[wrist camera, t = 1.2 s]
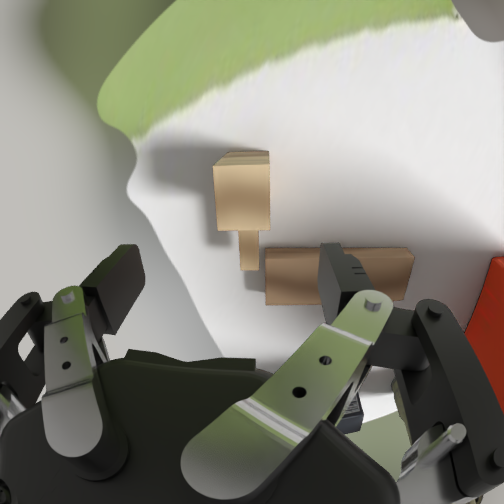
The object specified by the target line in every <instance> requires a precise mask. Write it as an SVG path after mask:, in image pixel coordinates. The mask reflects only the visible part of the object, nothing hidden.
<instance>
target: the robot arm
mask: <svg viewBox="0 0 504 504" xmlns="http://www.w3.org/2000/svg"><path fill="white" fill-rule="evenodd" d="M317 282H318V291H319V295H320V299H321V303H322V307H323V311H324V316H325V320H326V323H322V324H321V325H320V326H319V327H318V328H317V329H316V330H315V331H314V332H313V333H312V334H311V336H310V337H309V338H308V339H307V340H306V341H305V342H304V343H303V344H302V345H301V346H300V348H299V349H298V350H297V351H296V352H295V353H294V354H293V355H292V356H291V357H290V358H289V359H288V360H287V361H286V362H285V363H284V364H283V365H282V366H281V367H280V368H279V369H278V370H277V371H276V372H275V374H272V373H270V372H267V371H264V370H260V369H256V359H251V358H215V359H208V360H200V361H192V362H183V361H180V360H177V359H174V358H171V357H168V356H165V355H162V354H159V353H156V352H148V351H139V350H132V349H128V351H127V353H126V356H125V357H124V358H119V359H115V360H110V358H109V355H108V352H107V348H106V345H105V341H104V339H103V337H102V336H103V334H111V335H116V333H117V331H118V329H119V328H120V326H121V324H122V323H123V321H124V319H125V317H126V316H127V314H128V312H129V311H130V309H131V307H132V306H133V304H134V302H135V301H136V299H137V297H138V296H139V294H140V293H141V291H142V290H143V288H144V285H145V273H144V269H143V265H142V261H141V256H140V253H139V248H138V246H137V245H135V244H123V245H120V246H118V248H117V249H116V250H115V251H114V252H113V253H112V254H111V255H110V256H109V257H107V258H105V259H104V260H102V262H101V263H100V264H99V265H98V266H97V268H95V269H94V270H93V272H92V273H91V274H89V276H88V277H87V278H86V279H85V280H84V281H83V282H82V283H81V284H80V285H79V286H70V287H66V288H64V289H62V290H60V291H59V292H58V293H56V295H55V296H54V298H53V301H49V302H42V300H41V297H40V295H39V293H37V292H30V293H27V294H25V295H23V296H22V297H20V298H19V299H18V300H17V301H16V302H15V303H14V305H13V306H12V307H11V308H10V309H9V310H8V311H7V313H6V314H5V315H4V316H3V317H2V319H1V320H0V504H466V503H468V502H470V501H472V500H474V499H476V498H478V497H479V496H481V495H483V494H485V493H487V492H488V491H490V490H492V489H494V488H495V487H497V486H499V485H500V484H502V483H503V482H504V414H503V411H502V409H501V407H500V404H499V402H498V399H497V397H496V395H495V393H494V390H493V388H492V386H491V384H490V382H489V380H488V377H487V375H486V373H485V371H484V369H483V367H482V365H481V363H480V361H479V359H478V358H477V356H476V354H475V352H474V350H473V348H472V346H471V345H470V343H469V341H468V339H467V338H466V336H465V334H464V332H463V331H462V329H461V327H460V326H459V324H458V322H457V321H456V319H455V317H454V316H453V314H452V312H451V311H450V309H449V308H448V307H447V306H446V305H444V304H443V303H441V302H439V301H436V300H431V299H425V300H422V301H420V302H418V304H417V305H416V308H415V311H412V310H406V309H400V308H396V307H393V302H392V300H391V299H390V298H389V297H388V296H387V295H385V294H384V293H382V292H379V291H376V290H375V288H374V286H373V284H372V283H371V281H370V279H369V277H368V275H367V274H366V271H365V270H364V268H363V266H362V264H361V262H360V261H359V260H358V259H357V258H356V257H354V256H353V255H352V254H345V253H344V251H343V249H342V247H341V245H340V243H321V246H320V256H319V267H318V278H317ZM27 332H28V334H29V335H30V338H31V339H32V341H33V343H34V344H35V346H34V347H33V349H32V350H31V352H30V353H29V355H28V356H27V358H26V360H25V361H23V360H22V358H21V357H20V355H19V353H18V345H19V343H20V341H21V340H22V338H23V337H24V336H25V334H26V333H27ZM372 366H378V367H385V368H392V369H394V373H395V376H396V379H397V383H398V387H399V390H400V394H401V398H402V402H403V406H404V410H405V414H406V418H407V422H408V426H409V431H410V435H411V440H412V446H411V447H410V448H409V449H408V450H407V451H406V452H405V454H404V456H403V458H402V462H401V474H400V477H399V479H398V480H397V482H395V480H394V479H393V478H392V476H391V475H390V474H389V472H387V471H386V470H385V469H384V468H383V467H382V466H380V465H379V464H378V463H377V462H375V461H374V460H373V459H372V458H371V457H370V456H368V455H367V454H366V453H365V452H364V451H362V450H361V449H360V448H359V447H358V446H356V444H354V443H353V442H352V441H351V440H350V439H349V438H348V437H346V436H345V435H344V434H343V433H342V432H341V431H340V430H339V429H337V428H336V426H337V425H338V423H339V422H340V420H341V419H342V417H343V415H344V414H345V412H346V410H347V408H348V406H349V405H350V403H351V401H352V400H353V398H354V396H355V395H356V393H357V392H358V390H359V388H360V387H361V385H362V383H363V382H364V380H365V378H366V376H367V375H368V373H369V371H370V369H371V368H372ZM45 384H46V393H45V394H44V395H43V396H42V400H41V401H39V402H37V403H36V401H37V399H38V397H39V395H40V393H41V391H42V389H43V387H44V386H45ZM35 403H36V404H35Z"/></svg>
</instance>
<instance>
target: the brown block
mask: <svg viewBox="0 0 504 504" xmlns="http://www.w3.org/2000/svg"><path fill="white" fill-rule="evenodd" d="M342 249H343V251H344V253H345V254H352V255H353V256H354V257H356V258H357V259H358V260H359V261H360V262H361V264H362V266H363V268H364V270H365V271H366V274H367V275H368V277H369V279H370V281H371V283H372V284H373V286H374V288H375V290H376V291H379V292H382V293H384V294H385V295H387V296H388V297H389V298H390V299H391V300H392V301H400V300H403V298H404V295H405V292H406V288H407V285H408V281H409V278H410V274H411V270H412V266H413V262H414V258H415V257H414V256H413V255H412V254H411V252H410V251H409V250H408V249H407V248H342ZM319 256H320V248H265V290H266V305H319V304H322V303H321V299H320V295H319V291H318V282H317V278H318V267H319Z"/></svg>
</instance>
